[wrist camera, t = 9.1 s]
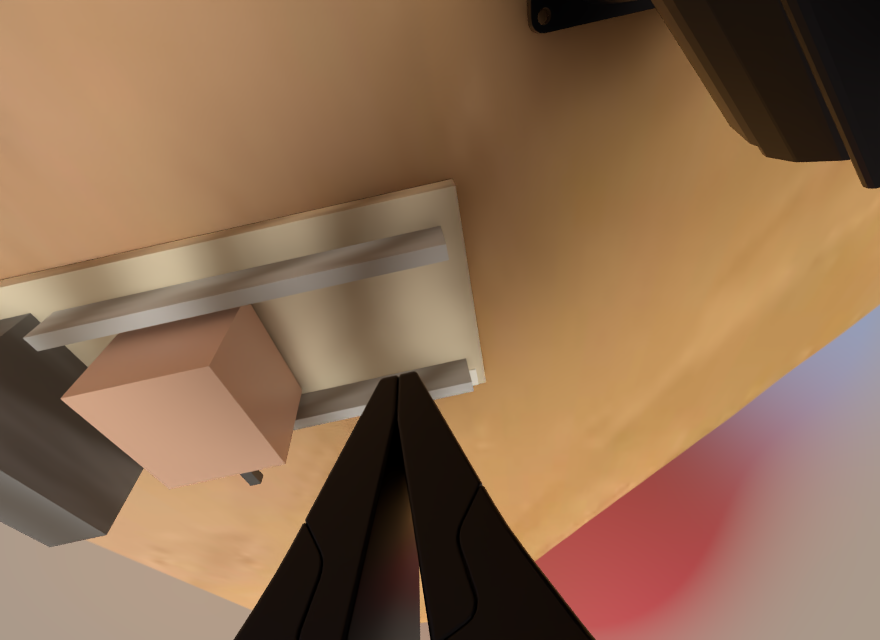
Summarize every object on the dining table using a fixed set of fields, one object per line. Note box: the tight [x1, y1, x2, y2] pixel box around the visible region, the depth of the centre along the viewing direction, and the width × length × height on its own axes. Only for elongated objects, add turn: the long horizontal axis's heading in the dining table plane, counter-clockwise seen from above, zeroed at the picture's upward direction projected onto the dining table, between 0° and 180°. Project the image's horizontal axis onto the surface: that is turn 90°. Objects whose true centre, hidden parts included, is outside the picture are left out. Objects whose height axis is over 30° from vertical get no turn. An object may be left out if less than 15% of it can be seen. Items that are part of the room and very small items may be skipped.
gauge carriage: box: [60, 304, 302, 489], centre depth 20 cm, size 6×10×5 cm, turn 11°
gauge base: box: [0, 179, 486, 547], centre depth 19 cm, size 24×13×7 cm, turn 101°
